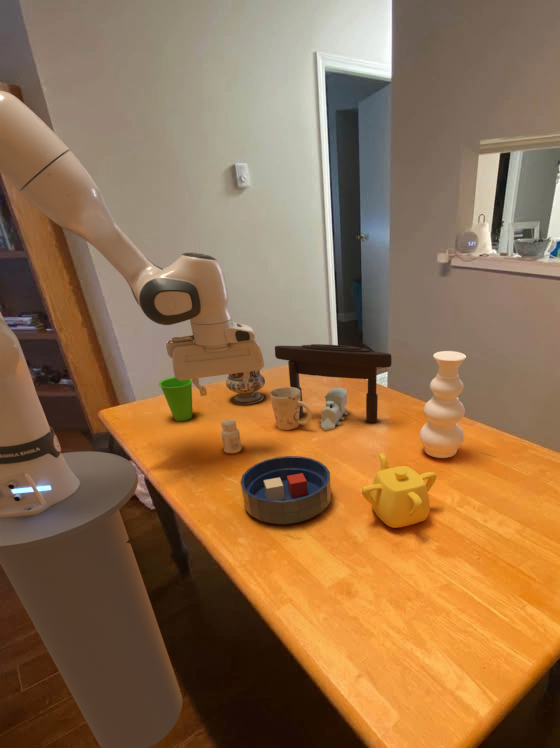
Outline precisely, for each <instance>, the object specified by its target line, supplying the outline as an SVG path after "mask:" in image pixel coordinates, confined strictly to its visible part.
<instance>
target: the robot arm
mask: <svg viewBox="0 0 560 748" xmlns="http://www.w3.org/2000/svg"><path fill="white" fill-rule="evenodd" d="M0 174H1V175H3V177H5V178H6V180H8V181H9V182H10V184H12V185H13V186H14V187H15V188H16V190H18V192H20V194H21V195H22V196H23V197H24V198H25V199H26V200H28V202H30V204H32V205H33V206H34V207H35V208H36V209H37V210H39V212H41V213H42V214H43V215H44V216H45V217H46V218H48V219H49V220H51V221H52V222H53V223H55V224H56V225H58V227H60V228H62V229H64V230H67V231H68V232H70V233H72V234H74V235H76V236H78V237H80V238H81V239H83V240H84V241H86V242H88V243H89V244H90V245H91V246H93V248H95V249H96V251H98V252H99V253H100V254H101V256H102V257H104V258H105V260H107V262H108V263H109V264H110V265H111V266H113V268H114V269H115V270H116V271H117V272H118V273H119V274H120V275H121V276H122V277H123V279H125V281H126V282H127V284H128V286H129V288H130V291H131V294H132V295H133V298H134V300H135V302H136V303H137V305H138V306H139V307H140V309H141V311H142V312H143V313H144V315H145V316H146V318H148V319H149V320H150V321H152V322H154V323H156V324H158V325H161V326H171V325H175V324H179V323H183V322H186V321H189V322H190V327H191V333H192V334H191V335H184V336H174V337H171V339H169V340H168V341H167V342H166V346H165V347H166V348H165V349H166V352H167V355H168V356H169V358H171V359H172V370H173V375H174V377H176V378H177V379H178V380H187V379H192V385H194V386H195V387H196V388H197V389H198V390H199V395H200V397H205V396H207V395H208V393H207V388H206V386H205V385H204V386H203V385H201V384H200V380H199V379H203V378H211V377H218V376H225V375H226V376H227V375H229V374H234V373H242V372H243V374H244V376H245V377H244V379H243V381H240V388H241V390H247V382H248V380H249V378H250V371H258V370H260V371H261V370H262V371H263V369H264V367H265V361H264V356H263V353H262V349H261V346H260V345H259V343H258V341H257V340H256V334H255V331H254V329H253V328H252V327H251V326H249V325H248V324H245V323H244V324H243V323H239V322H235V321H233V318H232V314H231V312H230V310H229V293H228V287H227V281H226V278H225V274H224V269H223V267H222V265H221V263H220V262H219V261H218V260H217V259H216V258H215V257H213V256H211V255H209V254H204V253H197V252H184V253H181V254H180V256H179V257H178V258H177V259H176V260H174V262H172V263H171V264H170V265H168V266H166V267H165V268H162V267H160V266H159V265H156V264H154V263H153V262H152V261H150V260H149V259H148V258H147V257H146V256H145V255H144V254H143V252H142V251H141V250H140V249H139V248H138V247H137V246H136V244H134V243H133V241H132V240H131V239H130V237H128V236H127V234H125V233H124V231H123V230H122V229H121V227H119V225H118V223H117V222H116V221H115V219H114V218H113V215H112V214H111V212H110V210H109V208H108V206H107V204H106V200H105V199H104V197H103V194H102V192H101V190H100V188H99V187H98V185H97V184H96V182H95V181H94V179H93V177H92V176H91V175H90V173H89V172H88V171H87V169H86V168H85V167H84V165H83V164H82V162H81V160H79V159H78V158H77V156H76V155H75V154H74V153H73V152H72V150H70V148H69V147H68V146H67V144H65V143H64V141H62V139H61V138H60V137H59V136H58V135H57V134H56V133H55V132H54V130H52V129H51V128H50V126H48V124H47V123H45V121H44V120H42V119H41V118H40V117H39V115H37V114H36V113H35V112H34V111H33V110H32V109H31V108H30V107H29V106H27V105H26V104H25V103H24V102H23V101H21V100H20V99H19V98H18V97H16V96H15V95H13V94H12V93H10V92H8V91H5V90H0ZM61 453H62V448H61V444H60V441H59V439H58V436H57V434H56V433H55V431H54V428H53V427H52V426H51V425H50V424H49V422H48V420H47V416H46V413H45V411H44V409H43V406H42V404H41V401H40V399H39V395H38V393H37V390H36V387H35V384H34V381H33V377H32V375H31V371H30V369H29V366H28V363H27V359H26V358H25V355H24V352H23V349H22V346H21V344H20V341H19V339H18V336H17V335H16V334H15V333H14V332H13V330H12V329H11V328H10V326H9V325H8V323H7V322H6V320H5V318H4V316H3V314H2V312H1V311H0V518H7V517H18V516H29V515H37V514H39V513H41V512H43V511H44V510H46V509H47V508H49V507H50V506H52V505H54V504H56V503H58V502H60V501H62V500H64V499H66V498H68V497H69V496H71V495H72V494H73V493H75V492H76V491H77V489H78V488H79V486H80V481H79V479H78V478H77V477H76V476H75V475H74V473H73V472H72V470H71V469H70V468H69V466H68V464H67V463H66V461H65V459H64V458H63V456H62V454H61Z"/></svg>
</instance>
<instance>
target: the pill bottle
mask: <svg viewBox="0 0 560 748" xmlns="http://www.w3.org/2000/svg"><path fill="white" fill-rule="evenodd" d="M221 429H222V430H221V433H220V435H221V441H222V446H223V451H224V453H227V454H238V453H239V452H240V451H242V447H243V446H242V441H241V435H240V434H241V433H240V429H238V428H237V422H236V420H235V419H225V420H223V421H221Z"/></svg>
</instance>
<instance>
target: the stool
mask: <svg viewBox="0 0 560 748" xmlns="http://www.w3.org/2000/svg"><path fill="white" fill-rule="evenodd" d="M274 356H275V358H276V359H277V360H282V361H287V363H288V364H287V365H288V377H289V387H294V388H297V389H299V390H300V401H302V402H303V389H302V387H301V385H300V375H304V376H305V375H306V376H313V377H314V376H317V377H325V378H326V377H327V378H339V379H340V378H341V379H356V380H358V379H359V380H360V379H361V380H367V392H366V395H365V420H366V422H367V423H371V424H372V423H374V424H376V423H377V421H378V408H379V407H378V404H379V403H378V401H379V400H378V399H379V398H378V396H379V394H378V393H377V383H378V382H377V380H378V379H377V376H378V375H377V374H378V368H384V369H385V368H390V367H392V363H393V361H392V354H391V353H387V352H381V351H371V349H368V348H362V347H359V346H351V345H343V344H342V345H340V344H320V343H314V344H313V343H311V344H301V345H275V346H274ZM348 392H349V391H347V389H345V388H342V387H333V388H332V389H329V391H328V392H327V393H326V394H325V396H324V398H325V406H324V408H323V409H322V410H321V412H320V416H321V417H320V418H321V419H320V428H321V429H323V431H325V432H326V431H329V430H330V431H331V430H334V429H336V426H341V424H342V422H341V421H344V420H345V416H348V415H349V412H348V411H346V406H347V405H348ZM303 416H304V407H303V406H300V412H299V419H300V418H302V417H303Z"/></svg>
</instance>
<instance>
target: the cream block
mask: <svg viewBox="0 0 560 748" xmlns="http://www.w3.org/2000/svg"><path fill="white" fill-rule="evenodd" d="M264 488H265V495H266V497H267V499H268V500H284V499H285V497H284V487H283V484H282V481H281V479H280V477H279V478H273V479H268V480H264Z"/></svg>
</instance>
